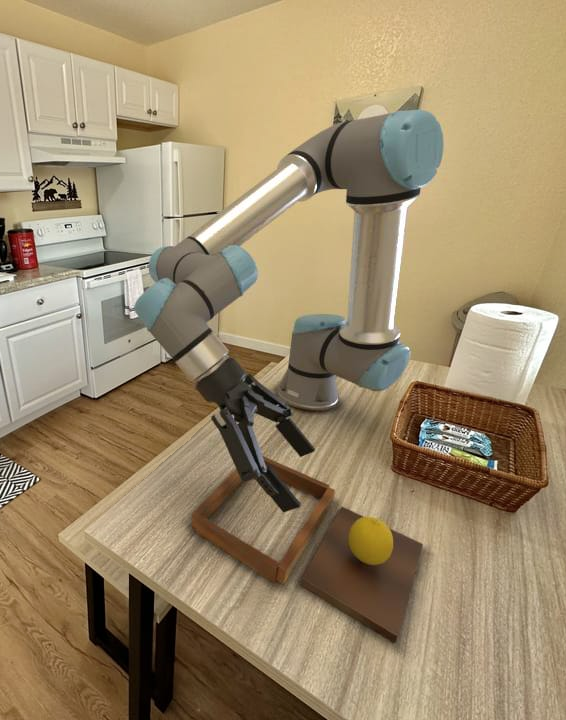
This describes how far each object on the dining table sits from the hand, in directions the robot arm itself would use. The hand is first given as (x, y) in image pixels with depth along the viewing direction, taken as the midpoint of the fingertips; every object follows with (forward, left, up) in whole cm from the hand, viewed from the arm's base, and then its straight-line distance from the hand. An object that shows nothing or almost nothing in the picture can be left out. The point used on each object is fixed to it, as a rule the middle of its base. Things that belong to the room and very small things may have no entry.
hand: (300, 478), depth 58 cm
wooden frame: (-2, -6, -13) cm, 14 cm away
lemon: (-2, +10, -11) cm, 16 cm away
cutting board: (-2, +10, -13) cm, 17 cm away
